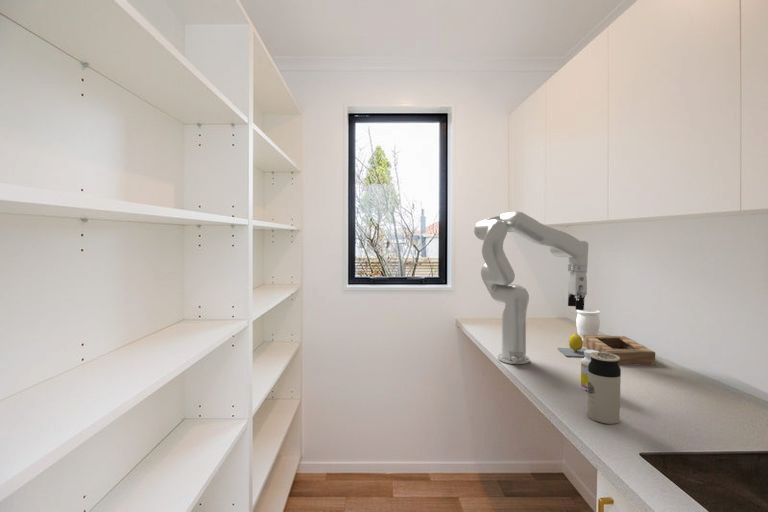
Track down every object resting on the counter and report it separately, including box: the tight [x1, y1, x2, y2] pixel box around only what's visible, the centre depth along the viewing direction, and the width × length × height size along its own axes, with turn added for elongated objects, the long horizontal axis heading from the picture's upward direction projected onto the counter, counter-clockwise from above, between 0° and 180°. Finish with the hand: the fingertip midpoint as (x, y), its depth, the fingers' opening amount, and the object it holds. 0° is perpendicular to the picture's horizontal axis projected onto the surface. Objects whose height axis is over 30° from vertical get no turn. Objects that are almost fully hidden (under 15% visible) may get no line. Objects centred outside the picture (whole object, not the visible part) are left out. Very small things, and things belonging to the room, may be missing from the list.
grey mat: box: [557, 347, 588, 358], centre depth 172 cm, size 12×12×1 cm
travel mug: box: [586, 352, 622, 425], centre depth 110 cm, size 8×8×18 cm
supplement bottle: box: [580, 349, 599, 392], centre depth 132 cm, size 7×7×13 cm
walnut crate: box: [582, 334, 656, 366], centre depth 170 cm, size 26×18×5 cm
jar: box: [575, 308, 601, 341], centre depth 193 cm, size 11×10×15 cm
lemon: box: [568, 333, 584, 352], centre depth 172 cm, size 6×6×8 cm
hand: (575, 307), depth 171 cm, fingers open, 9 cm apart
